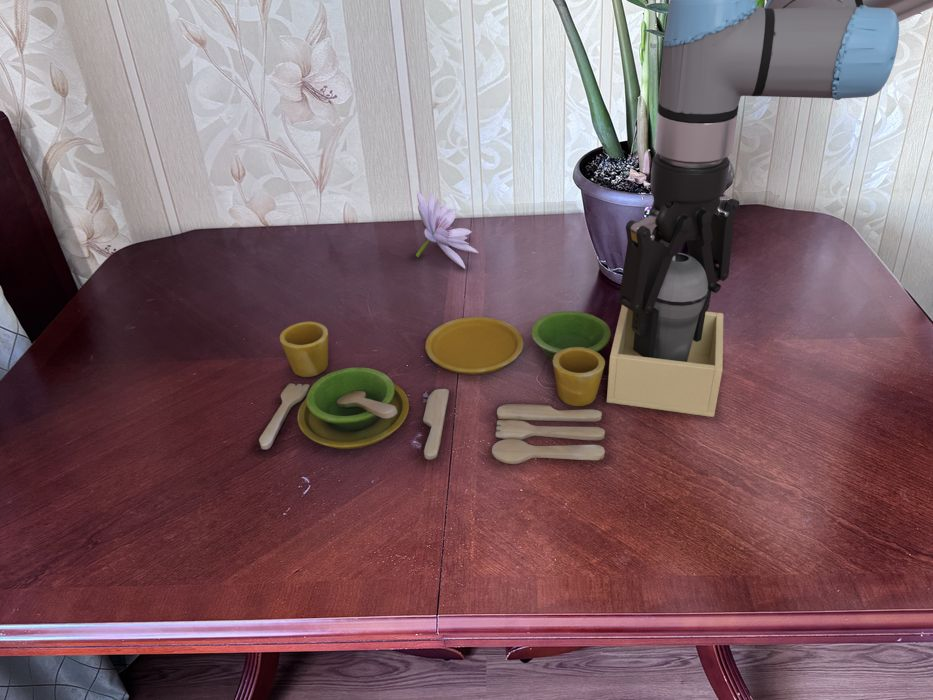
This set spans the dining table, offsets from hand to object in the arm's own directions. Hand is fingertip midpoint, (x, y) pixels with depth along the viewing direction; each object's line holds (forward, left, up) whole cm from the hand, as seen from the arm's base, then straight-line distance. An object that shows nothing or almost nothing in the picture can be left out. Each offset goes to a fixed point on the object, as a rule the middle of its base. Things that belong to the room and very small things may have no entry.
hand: (667, 344), depth 86 cm
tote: (0, 0, -5) cm, 5 cm away
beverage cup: (0, 0, -4) cm, 4 cm away
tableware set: (+26, +7, -5) cm, 27 cm away
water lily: (+36, -26, -5) cm, 45 cm away
